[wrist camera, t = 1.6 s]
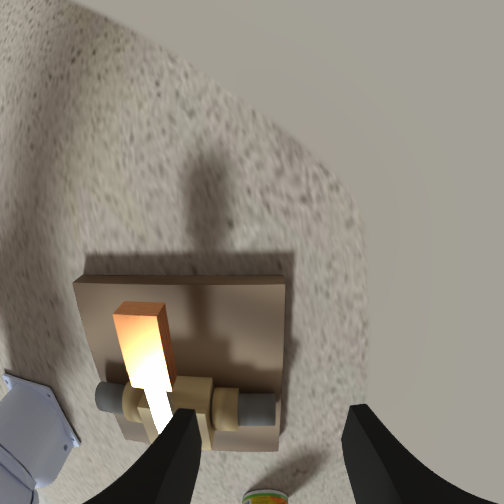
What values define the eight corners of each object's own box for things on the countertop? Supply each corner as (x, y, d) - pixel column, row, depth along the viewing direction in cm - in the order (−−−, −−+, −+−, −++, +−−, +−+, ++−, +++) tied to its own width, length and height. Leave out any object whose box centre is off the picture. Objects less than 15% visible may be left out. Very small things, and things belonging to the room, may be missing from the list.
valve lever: (193, 441, 17) (189, 457, 16) (161, 438, 17) (156, 453, 16) (165, 302, 14) (156, 316, 13) (123, 301, 14) (112, 314, 13)
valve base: (277, 439, 24) (279, 483, 19) (129, 428, 24) (113, 467, 19) (283, 274, 19) (290, 313, 14) (83, 274, 20) (43, 305, 15)
